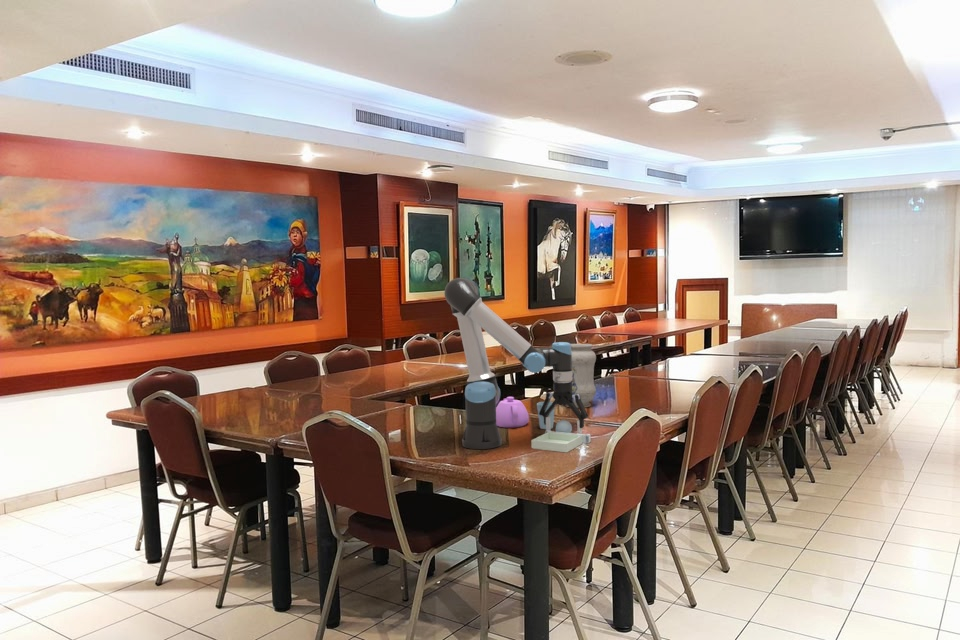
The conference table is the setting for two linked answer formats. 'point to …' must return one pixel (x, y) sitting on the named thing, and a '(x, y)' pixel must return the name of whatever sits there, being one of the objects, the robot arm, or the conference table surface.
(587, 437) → the white bar handle
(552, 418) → the cup
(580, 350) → the vase
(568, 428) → the ball
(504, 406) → the teapot
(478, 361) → the robot arm
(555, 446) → the tray
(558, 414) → the conference table surface
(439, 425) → the conference table surface
